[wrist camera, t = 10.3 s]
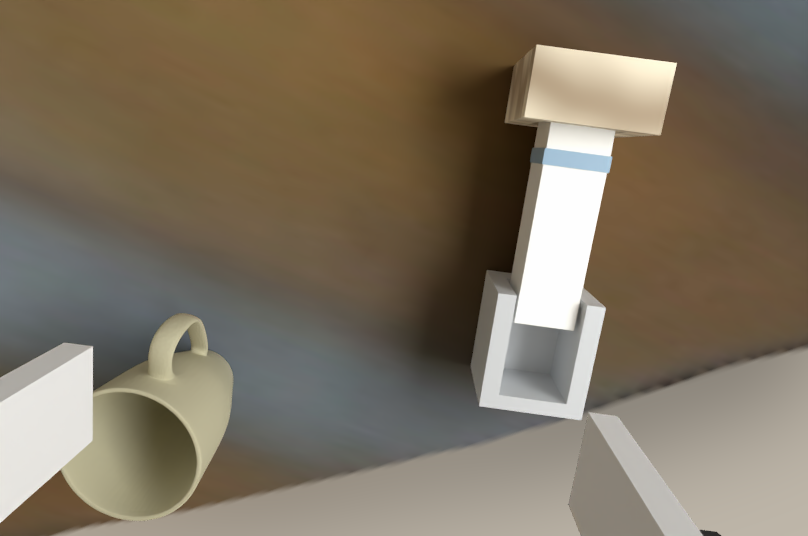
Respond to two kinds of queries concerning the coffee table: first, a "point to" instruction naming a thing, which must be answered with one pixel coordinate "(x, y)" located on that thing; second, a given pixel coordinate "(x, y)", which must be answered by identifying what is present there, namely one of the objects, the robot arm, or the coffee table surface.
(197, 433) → the mug
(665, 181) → the coffee table surface
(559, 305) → the blue-banded white bar
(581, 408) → the sleeve
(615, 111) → the beige block
